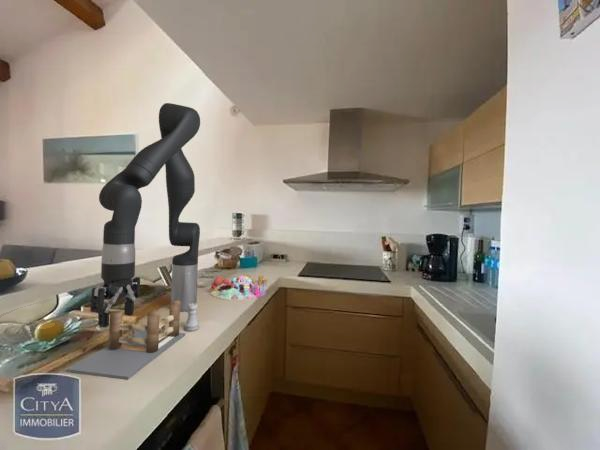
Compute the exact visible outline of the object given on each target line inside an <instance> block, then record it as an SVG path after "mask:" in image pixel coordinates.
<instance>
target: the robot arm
mask: <svg viewBox="0 0 600 450" xmlns="http://www.w3.org/2000/svg"><path fill="white" fill-rule="evenodd" d="M158 125H159V132H160V139H159V140H156V141H154V142H152V143H151V144H149V145H147V146H145V147H143V148H142V149H141V150H140V151H139V152H137V154H135V156H133V158H132V159H131V161H130V162H129V163H128V164H127V165H126V167H125V168H124V169H122V171H120V172H118V173H117V174H116V175H115V176H114V177H112V178H111V179H110V180H109V181H108V182H106V183H105V185H103V186H102V188H101V189H100V192H99V194H98V195H99V196H98V201H99V203H100V205H101V206H102V207H103V208H104V209H105V210H108V211H112V213H113V214H112V216H111V220H108V221H106V222H105V224H104V226H103V234H102V235H103V236H102V237H103V238H102V239H103V240H102V242H103V243H102V249H101V263H100V264H101V265H100V266H101V268H100V278H101V279H102V281H103V286H101V287H96V286H95V287H93V288H92V289H91V297H90V299H91V300H90V308H89V309H90V312H91V313H96V314H98V315H97V317H98V318H97V324H98V326H99V327H100V328H108V327H110V312H109V311H110V309H111V308H112V306H113V305H114V304H116V301H117V300H120V299H121V298H123V299H124V315H125V316H130V317H131V316H133V315H134V312H135V311H134V309H135V301H136V300H137V298H140V297H141V277H140V276H139V277H138V276H135V274H136V247H135V245H136V244H135V242H136V241H135V240H136V239H135V238H136V235H135V234H136V226H137V223H138V220H139V218H140V217H139V216H140V213H141V210H142V203H143V200H142V195H141V193H140V189H142V188H145V187H148V186H149V185H150V184H151V183H152V182H153V180H154V179H155V178H156V176H157V175H158V173H159V172H160V171H161V169H162V168H163V167H164V166H165V168H164V169H165V186H166V195H167V204H168V206H167V207H168V238H169V239H168V241H169V243H170V245H171V246H174V247H189V249H188V250H187V251H185V252H183V253H179V254H177V255H173V257H172V258H171V259H172V262H171V263H172V265H171V288H170V289H171V290H170V302H171V301H174V300H178V301H180V312H186V311H187V312H188V311H189V309H188V308H187V307H188V306H189V304H190V303H191V305H192V303H193V304H194V303H196V304H197V305H198V302H197V300H198V299H197V297H198V271H199V270H198V268H199V267H198V266H199V247H200V246H199V245H200V236H201V235H200V234H201V229H200V225H199V223H198V222H189V221H188V222H182V221H179V218H180V215H181V213H182V212H183V210H184V209H185V207H187V205H188V204H189V203H190V201H191V200H192V198H193V197H194V194H195V192H196V187H195V186H196V185H195V184H196V182H195V173H194V169H193V168H192V166H191V164H190V162H189V161H188V159H187V157H186V154H184V152H183V149H182V148H183V147H184V146H185V145H186V144H188V142H190V141H191V140H192V139H193V138H194V137H195V136H196V135H197V133H198V132H199V130H200V127H201V118H200V115H199V113H198V111H197V110H196V109H194V108H193V107H190V106H185V105H180V104H177V103H171V102H166V103H163V104H162V105H161V107H160V109H159V112H158ZM107 298H108V299H107Z"/></svg>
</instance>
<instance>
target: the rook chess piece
mask: <svg viewBox="0 0 600 450" xmlns="http://www.w3.org/2000/svg"><path fill="white" fill-rule="evenodd" d="M187 308H188V309H189V310H188V311H187V313H188V315H187V316H188V317H187V320H185V321H186V322H185V323H184V326H185V327H184V330H185V331H187V332H195V331H197V330H199V328H200V326H199V325H200V323H199V321H198V319H197V318H198V317H197V313H198V311H197V310H198V308H199V306H198V303H197V304H196V303H194V304H193V303H192V305H191V303H190V304H189V306H188V307H187Z"/></svg>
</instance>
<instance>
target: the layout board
mask: <svg viewBox="0 0 600 450" xmlns="http://www.w3.org/2000/svg"><path fill="white" fill-rule="evenodd" d="M160 333H161V330H159V334H160ZM185 336H186V333H185V332H179V335H178V336H176V337H170V336H169V334H168V335H167V337H165V338H162V339H161V340H159V344H158V351H157V352H154V353H147V352H146V345H147V343H146V344H135V343H133V344H128V343H122V346H121V347H119V348H116V349H110V348H109V345H108V346H106V347H104V348H101V349H100V350H99V351H97V352H95V353H93V354H91V355H90V356H88V357H86V358H84V359H82V360H80V361H79V362H78V363H76V364H73V365H71V366H70V367H68V368H67V369H66V372H67V373H73V374H74V373H75V374H81V375H83V374H84V375H90V376H97V377H105V378H112V379H113V378H114V379H118V380H119V379H122V380H129V379H131V378H132V377H133V376H134V375H136V374H137V373H139V372H140V371H141V370H142V369H144V368H145V367H146V366H148V365H149V364H150V363H151V362H153V361H154V360H155V359H157V358H158V357H159V356H161V355H162V354H163V353H164V352H166V351H167V350H168V349H169V348H171V347H172V346H173V345H175V344H176V343H177V342H178V341H180V340H181V339H183V338H184V337H185ZM125 337H128V334H126V335H125ZM134 337H139V338H147V330H146V331H134Z"/></svg>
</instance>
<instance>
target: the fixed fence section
mask: <svg viewBox="0 0 600 450" xmlns="http://www.w3.org/2000/svg"><path fill="white" fill-rule="evenodd" d="M160 313H161V312H160V311H158V310H152V311H149V312H147V317H146V318H147V322H146V325H147V345H146V352H147V353H154V352H157V351H158V344H159V340H161V339H162V338H165V337H167V335H168V334H169V336H170V337H176V336H178V335H179V333H180V317H181V316H180V313H181V311H180V301H178V300H174V301H171V300H170V301H169V314H168V316H166V317H163V318H161V320H160ZM160 329H161V330H160ZM159 331H161V333H160V334H159Z"/></svg>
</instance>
